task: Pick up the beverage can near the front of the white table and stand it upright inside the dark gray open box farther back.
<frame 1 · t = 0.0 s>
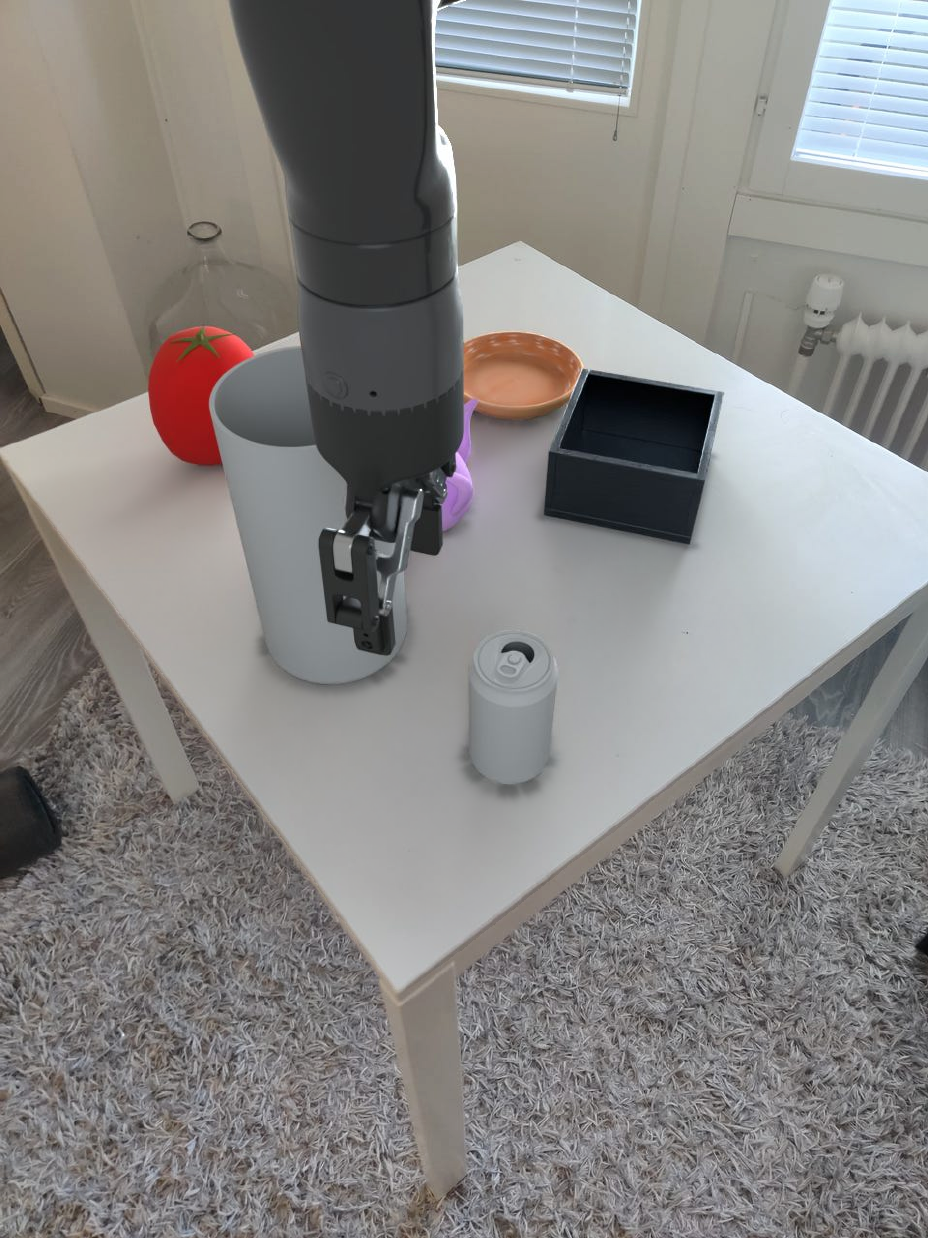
hand: (401, 596, 56), 22 cm above the table, tool pointing down, fingers open, 8 cm apart
dark gray open box: (629, 484, 98), on the table
teapot: (414, 509, 95), on the table
cylinder vase: (337, 634, 84), on the table
saucer: (512, 390, 109), on the table
beverage can: (508, 756, 75), on the table
tomato: (222, 450, 102), on the table
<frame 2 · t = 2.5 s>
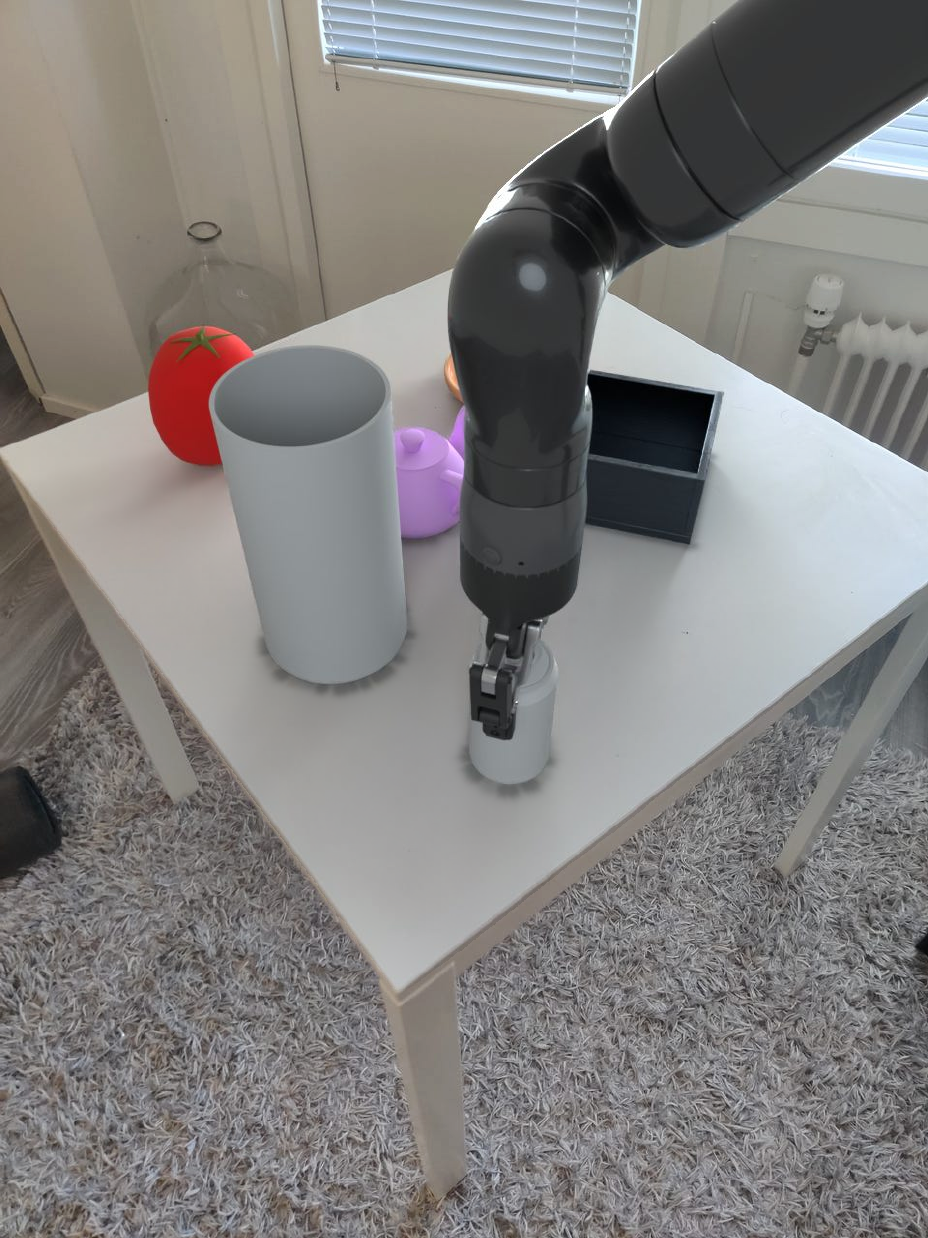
hand: (511, 695, 69), 8 cm above the table, tool pointing down, fingers closed on beverage can, 6 cm apart
beverage can: (508, 756, 75), on the table, touching gripper
everything else where it was.
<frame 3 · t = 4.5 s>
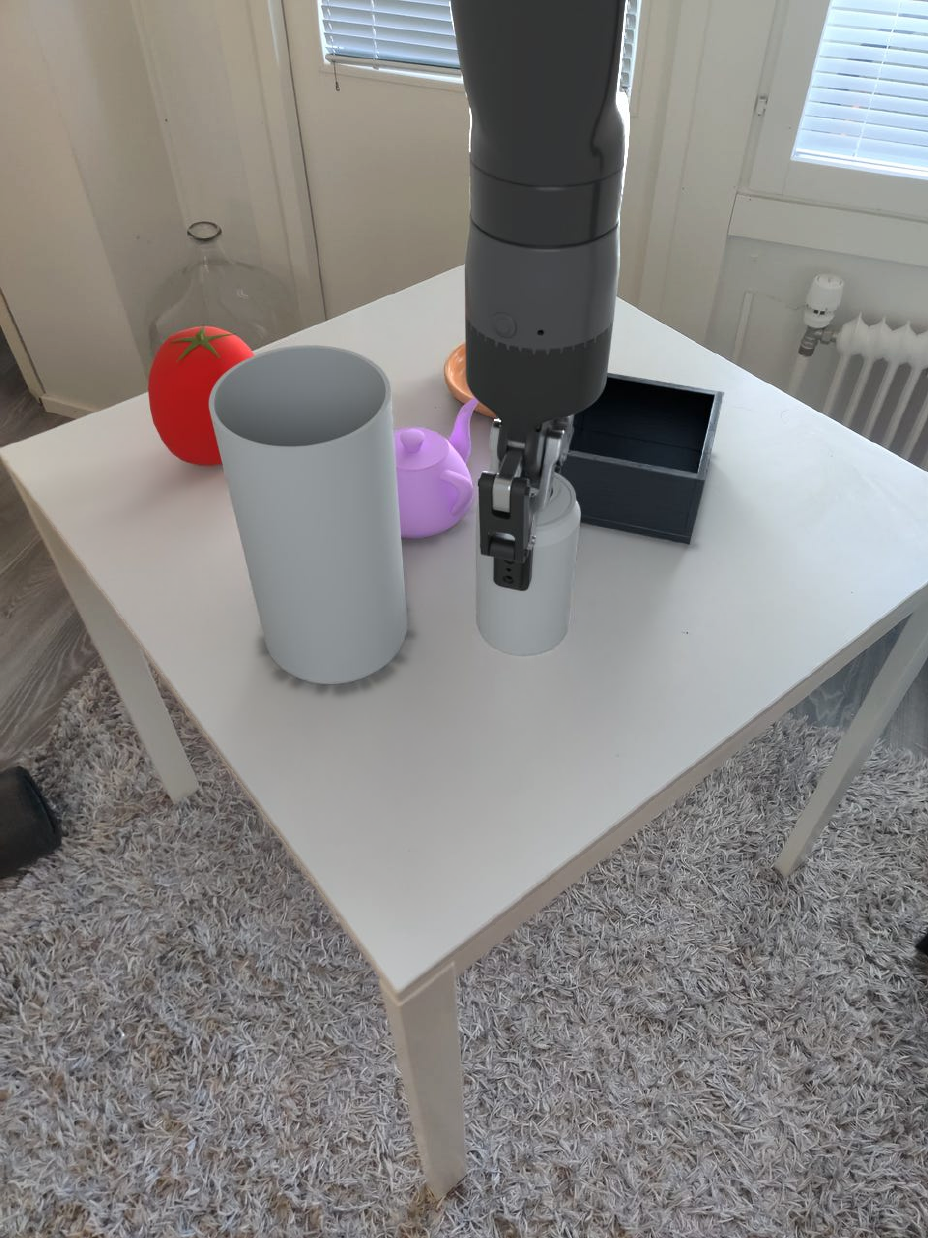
hand: (526, 546, 60), 22 cm above the table, tool pointing down, fingers closed on beverage can, 6 cm apart
beverage can: (522, 630, 65), point 14 cm above the table, touching gripper
everything else where it was.
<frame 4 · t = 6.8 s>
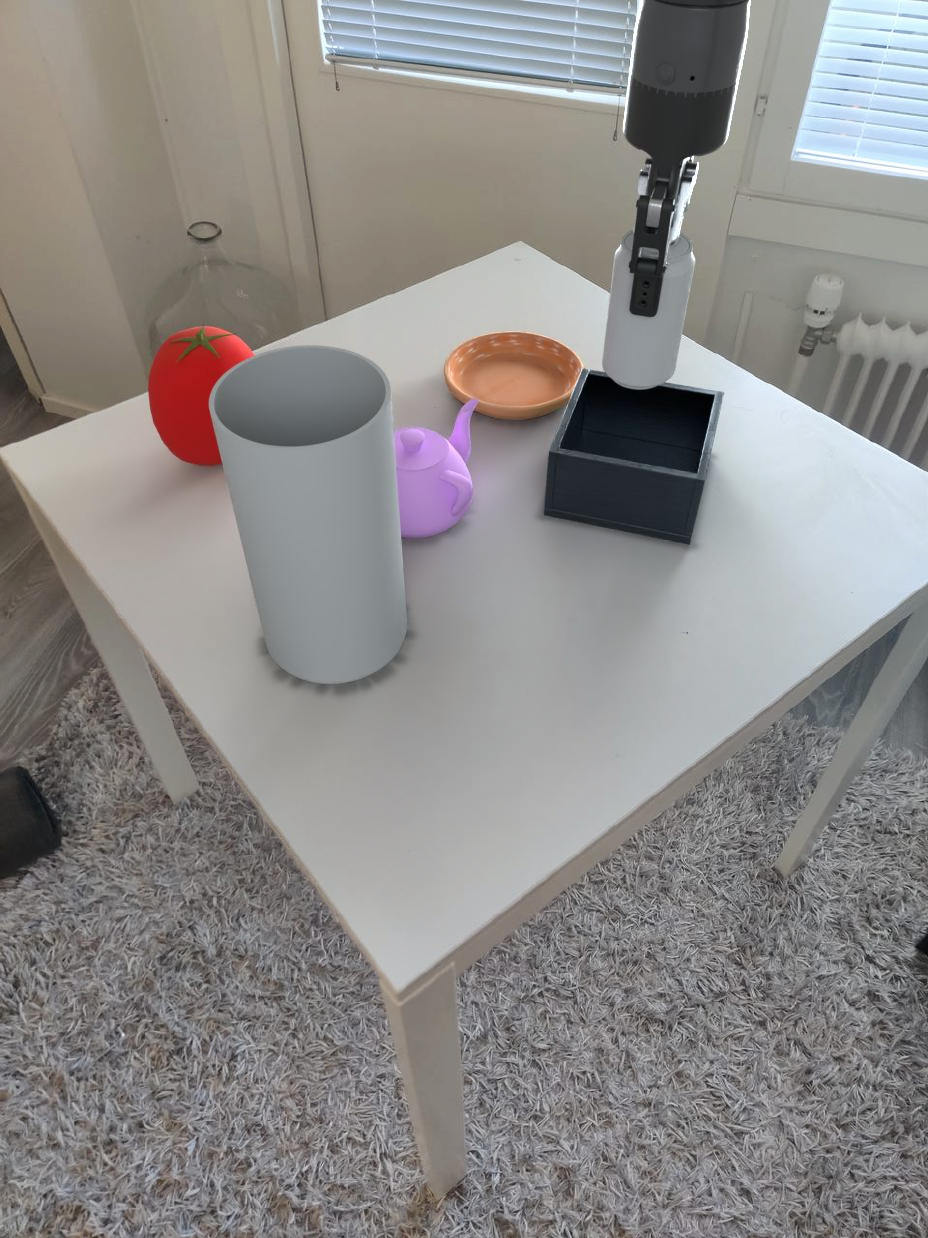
hand: (650, 291, 77), 24 cm above the table, tool pointing down, fingers closed on beverage can, 6 cm apart
beverage can: (636, 375, 83), point 16 cm above the table, touching gripper
everything else where it was.
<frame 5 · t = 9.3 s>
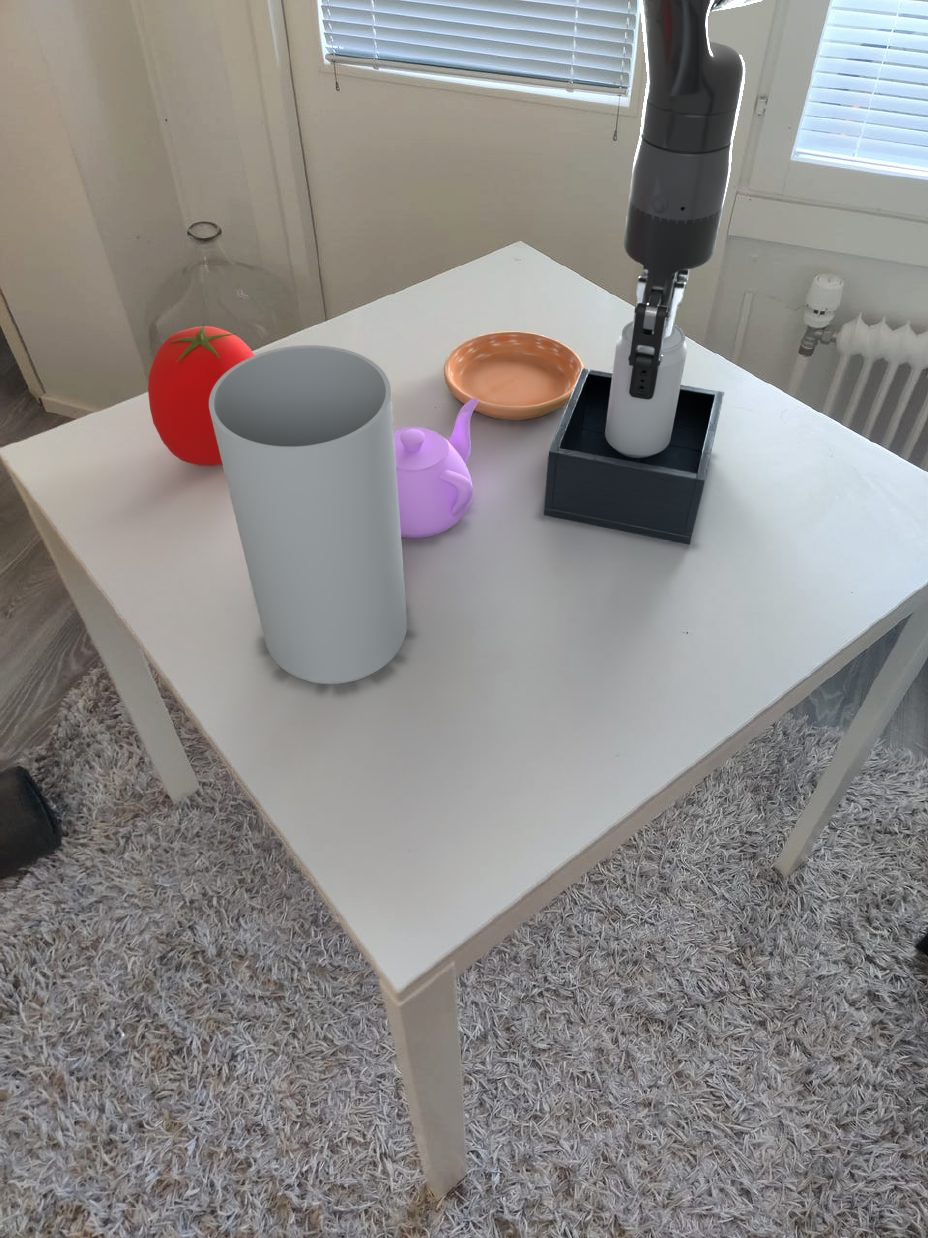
hand: (647, 374, 88), 13 cm above the table, tool pointing down, fingers closed on beverage can, 6 cm apart
beverage can: (636, 443, 94), point 5 cm above the table, touching gripper
everything else where it was.
when the fingers open (9 cm above the table, at t = 11.0 s): beverage can stays where it is, resting on dark gray open box.
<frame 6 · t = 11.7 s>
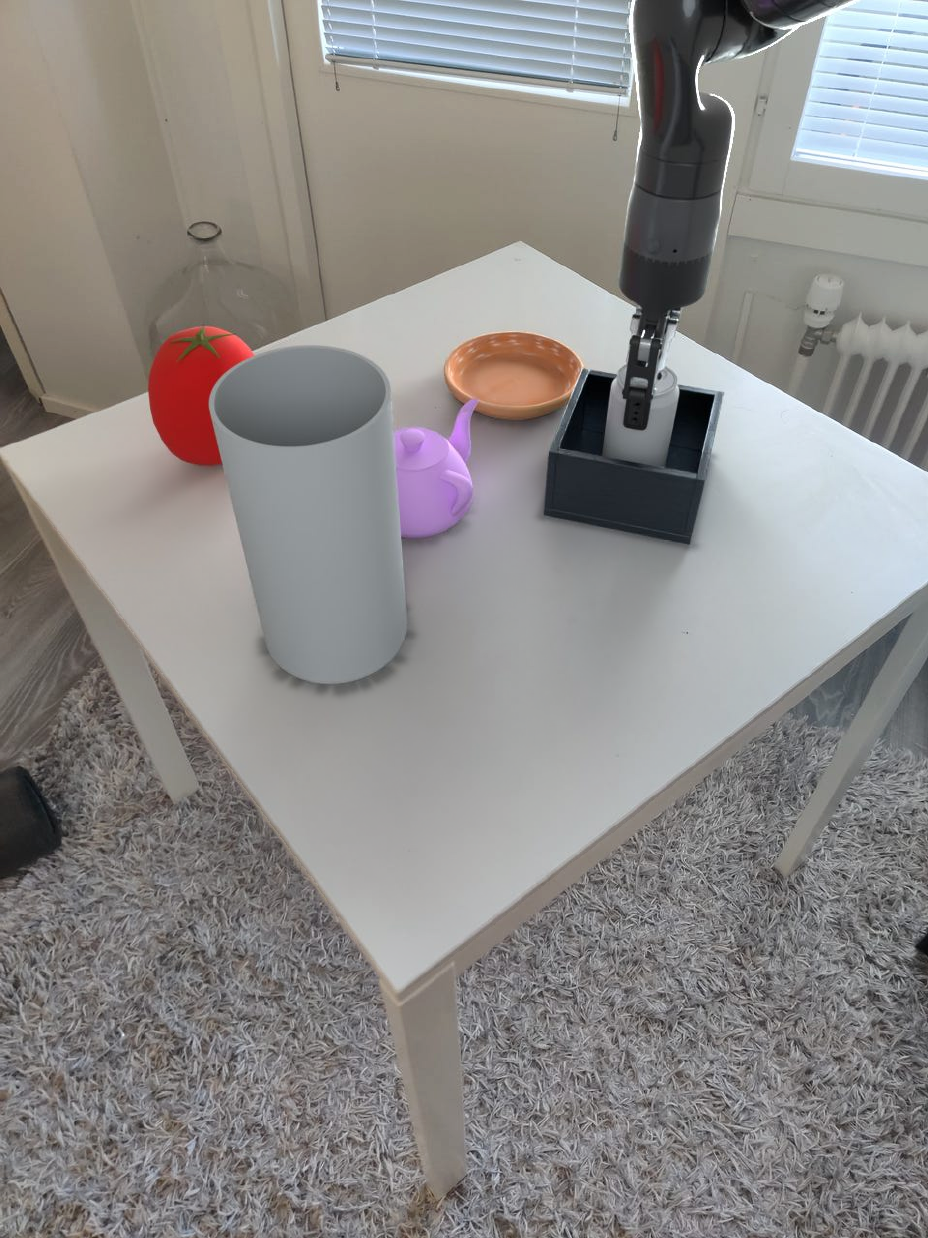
hand: (642, 401, 90), 10 cm above the table, tool pointing down, fingers open, 8 cm apart
beverage can: (630, 479, 97), point 1 cm above the table, touching dark gray open box
everything else where it was.
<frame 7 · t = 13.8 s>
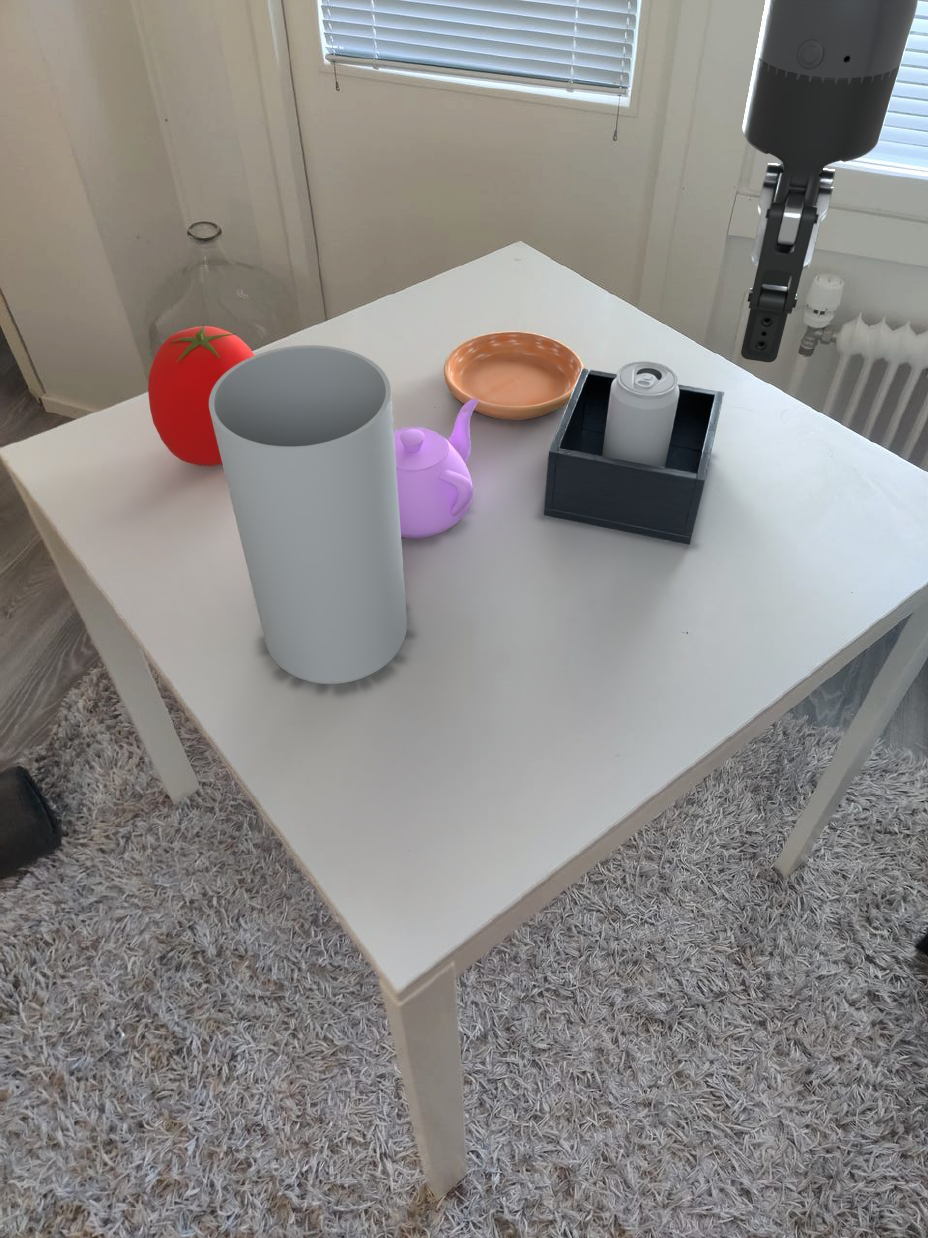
hand: (764, 324, 62), 30 cm above the table, tool pointing down, fingers open, 8 cm apart
nothing on the table moved.
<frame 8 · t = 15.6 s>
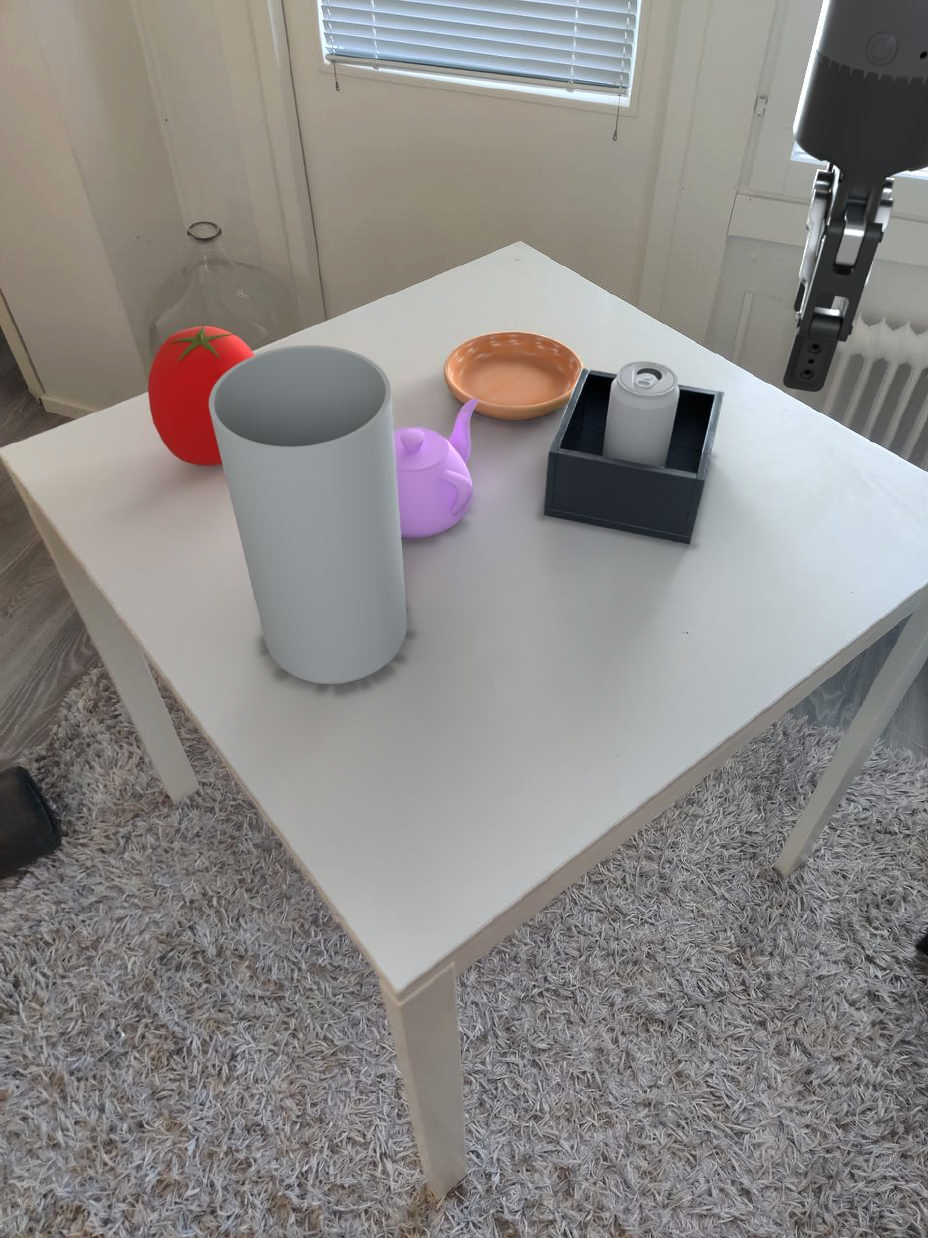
hand: (806, 347, 56), 32 cm above the table, tool pointing down, fingers open, 8 cm apart
nothing on the table moved.
at the end: beverage can inside the target area in the dark gray open box (0.1 cm from its centre), point 0.8 cm above the dark gray open box's base; beverage can tilted 0°; the gripper is holding nothing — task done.
